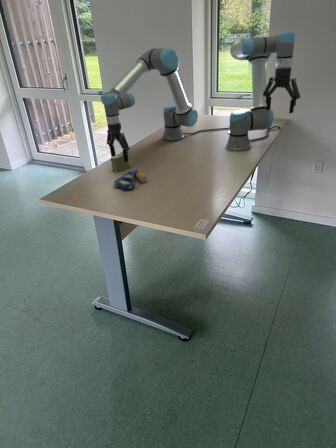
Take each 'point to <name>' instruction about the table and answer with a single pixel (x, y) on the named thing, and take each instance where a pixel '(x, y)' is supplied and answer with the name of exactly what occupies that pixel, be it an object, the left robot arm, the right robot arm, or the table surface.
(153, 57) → the left robot arm
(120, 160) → the ink box
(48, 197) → the table surface
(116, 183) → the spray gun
